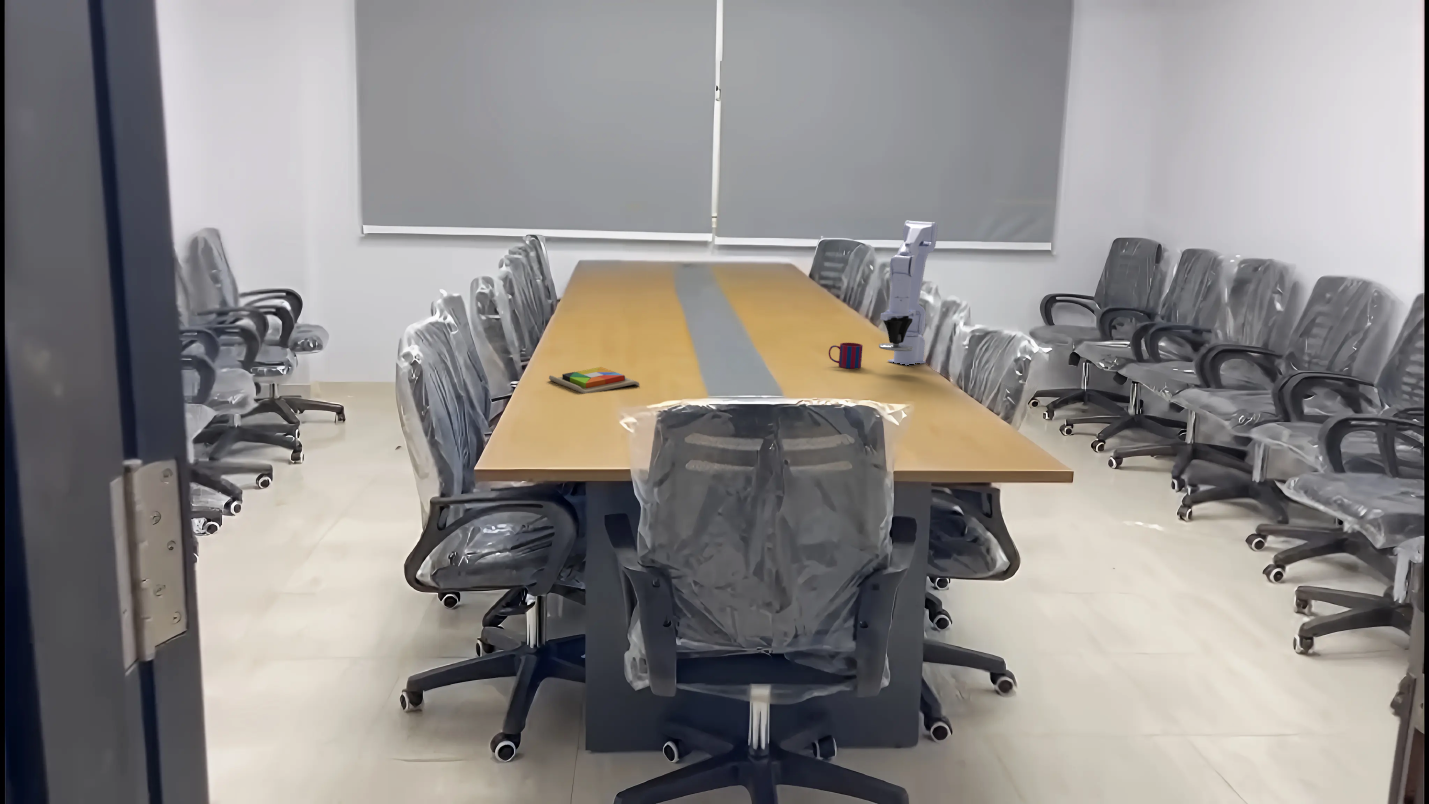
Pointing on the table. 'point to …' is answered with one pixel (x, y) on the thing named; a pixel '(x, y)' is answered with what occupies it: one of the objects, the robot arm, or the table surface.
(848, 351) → the mug
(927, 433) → the table surface
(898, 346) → the lid
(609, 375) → the wooden puzzle
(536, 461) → the table surface
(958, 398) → the table surface
